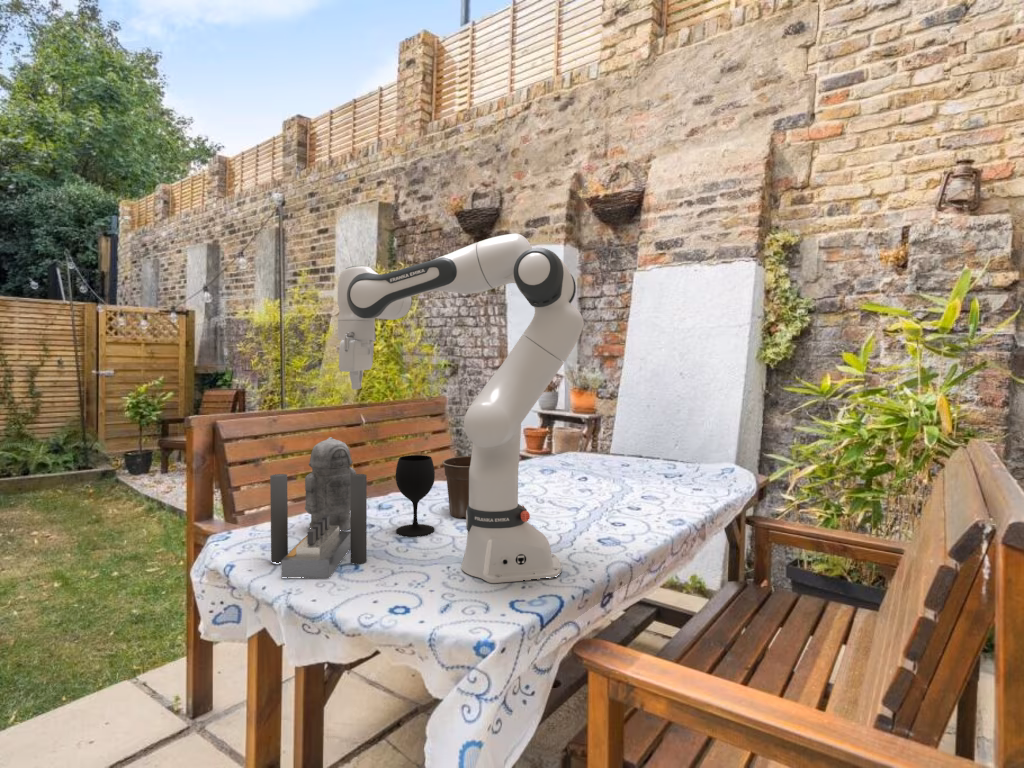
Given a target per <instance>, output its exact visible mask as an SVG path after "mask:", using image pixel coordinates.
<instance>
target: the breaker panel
mask: <svg viewBox="0 0 1024 768" xmlns="http://www.w3.org/2000/svg"><path fill="white" fill-rule="evenodd" d="M349 549H350V530H349V531H348V530H344V531H339V526H329V528H328V529H325V532H324V533H323V534H321V536H320V537H319V539H316V542H315V543H314V544H308V543H307V534H306V535H305V536H304V538H302V539H301V540H300V541H299V542H298V543H297V544H296V545H295V546H294V547H292V549H291V550H290V551H288V554H287V555H286V556H285V557H284V558H283V559H282V560H281V564H280V565H281V566H280V568H281V572H280V573H281V578H282V577H287V578H288V577H301V578H300V579H330V578H331V577H332V575H333V574H332V573H334V572H335V571H336V570H337V568H338V567H337V566H339V565H340V564H341V562H342V561H343V560H344V558H345V557H346V556H347V554H348V553H349V551H350V550H351V549H350V550H349ZM348 550H349V551H348ZM347 552H348V553H347ZM346 553H347V554H346ZM345 555H346V556H345ZM344 556H345V557H344ZM343 557H344V558H343ZM342 559H343V560H342ZM341 560H342V561H341ZM340 561H341V562H340ZM339 563H340V564H339ZM338 564H339V565H338ZM336 567H337V568H336ZM334 570H335V571H334ZM331 574H332V575H331ZM302 577H304V578H302ZM329 577H330V578H329Z"/></svg>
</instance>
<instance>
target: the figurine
mask: <svg viewBox="0 0 1024 768" xmlns="http://www.w3.org/2000/svg"><path fill="white" fill-rule="evenodd" d="M352 464H353V460H352V458H351V451H350V449H349V447H348V445H347V444H346V442H343V441H341V440H339V439H335V438H333V437H330V436H329V437H328V438H327V439H325V440H322V441H319V442H318V443H317V444H315V445H314V446H313V448H312V450H311V454H310V458H309V462H308V466H309V467H310V468H311V470H312V471H311V472H310V473H308V474H307V475H306V476H305V477H304V484H305V485H304V489H305V503H304V504H305V505H304V510H305V511H306V513H307V514H309V515H310V517H311V519H310V522H309V529H310V528H311V529H312V527H313V526H314V525H315V524H317V522H318V521H319V520H322V517H323V516H324V515H329V526H339V531H340V530H344V531H347V530H346V529H348V530H350V476H351V475H354V474H357V472H356V470H355V469H354V468H353V467H351V465H352Z"/></svg>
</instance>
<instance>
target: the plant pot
mask: <svg viewBox="0 0 1024 768" xmlns="http://www.w3.org/2000/svg"><path fill="white" fill-rule="evenodd" d="M471 456H472V455H469V456H468V455H466V456H452V457H449V458H446V459H444V460H443V461H442V463H441V464H442V465H443V469H444V475H445V477H446V486H447V487H446V488H447V496H448V497H447V498H448V508H449V509H448V510H449V515H450V516H451V517H453V516H454V518H456V519H462V518H465V519H466V510H467V505H468V504H469V468H470V463H471Z"/></svg>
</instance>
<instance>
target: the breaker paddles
mask: <svg viewBox="0 0 1024 768" xmlns="http://www.w3.org/2000/svg"><path fill="white" fill-rule="evenodd" d="M328 528H329V515H324V516H323V517H322V520H319V521H318V522H317V524H315V525H314V526H313V527H312V529H310V528H309V530H307V533H306V535H307V543H308V544H314V543H315V542H316V539H319V537H320V536H321V534H323V533H324V532H325V529H328Z"/></svg>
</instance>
